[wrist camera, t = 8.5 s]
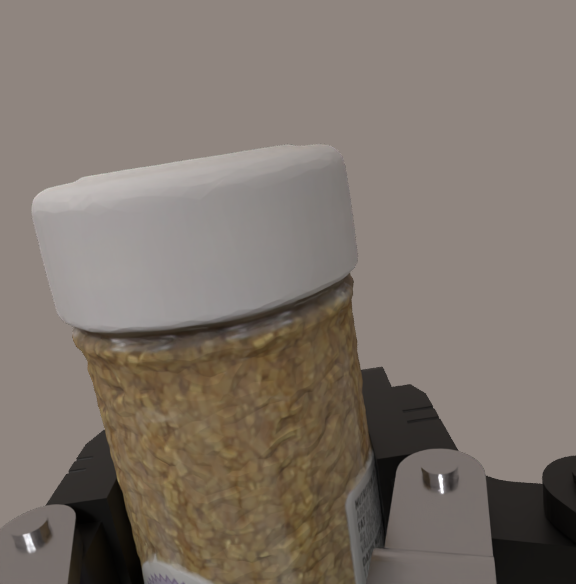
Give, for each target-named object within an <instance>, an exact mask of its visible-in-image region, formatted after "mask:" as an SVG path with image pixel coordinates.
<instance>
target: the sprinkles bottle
mask: <svg viewBox="0 0 576 584" xmlns="http://www.w3.org/2000/svg"><path fill="white" fill-rule="evenodd" d="M32 218H33V223H34V227H35V231H36V235H37V239H38V243H39V247H40V251H41V255H42V260H43V264H44V268H45V272H46V275H47V279H48V282H49V286H50V289H51V293H52V297H53V300H54V303H55V307H56V310H57V314H58V315H59V317H60V318H61V320H62V321H64V322H65V323H66V324H69V325H71V326H73V335H72V338H73V341H74V343H75V345H76V347H77V348H79V349H80V350H81V351H82V353H83V354H84V356H85V357H86V359H87V361H88V372H89V374H90V377H91V379H92V382H93V385H94V390H95V393H96V396H97V402H98V407H99V409H100V413H101V417H102V421H103V424H104V428H105V432H106V437H107V441H108V444H109V446H110V453H111V457H112V460H113V462H114V466H115V471H116V475H117V479H118V482H119V485H120V487H121V490H122V492H123V496H124V501H125V506H126V510H127V514H128V517H129V520H130V523H131V526H132V533H133V538H134V541H135V544H136V549H137V554H138V556H139V558H140V561H141V567H142V575H143V579H144V584H366V583H367V577H368V572H369V566H370V561H371V556H372V553H373V550H374V548H375V547H381V548H384V547H385V536H384V528H383V521H382V513H381V506H380V498H379V491H378V483H377V475H376V468H375V460H374V453H373V449H372V444H371V440H370V436H369V433H368V425H367V419H366V409H365V405H364V399H363V394H362V385H363V380H362V374H361V369H360V363H359V359H358V353H357V338H356V332H355V327H354V318H353V313H352V302H351V299H352V296H353V283H354V281H353V278H352V277H351V275H350V272H351V271H352V270H353V269H354V268H355V266H356V264H357V261H358V253H357V245H356V237H355V229H354V220H353V214H352V205H351V199H350V192H349V187H348V180H347V173H346V167H345V164H344V160H343V157H342V155H341V154H340V152H339V151H338V150H337V149H336V148H334V147H333V146H330V145H325V144H314V145H304V146H295V145H291V144H287V145H279V146H273V147H266V148H260V149H253V150H247V151H241V152H235V153H229V154H223V155H217V156H210V157H204V158H197V159H192V160H185V161H179V162H172V163H167V164H160V165H154V166H148V167H142V168H134V169H128V170H122V171H116V172H111V173H105V174H98V175H92V176H87V177H82V178H80V179H79V180H77V181H75V182H72V183H68V184H64V185H59V186H55V187H51V188H47V189H45V190H44V191H42V192H40V193H39V194H38V195H37V196H36V197H35V198H34V200H33V203H32Z"/></svg>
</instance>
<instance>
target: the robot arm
mask: <svg viewBox="0 0 576 584" xmlns="http://www.w3.org/2000/svg"><path fill="white" fill-rule="evenodd" d="M361 374H362V380H363V385H362V394H363V399H364V405H365V409H366V419H367V425H368V433H369V436H370V440H371V444H372V449H373V453H374V460H375V468H376V475H377V483H378V491H379V498H380V506H381V513H382V521H383V528H384V536H385V547H384V548H381V547H375V548H374V550H373V553H372V556H371V561H370V566H369V572H368V577H367V583H366V584H576V456H569V457H564V458H561V459H558V460H555V461H553V462H552V463H551V464H549V465H548V466H547V467H546V468H545V470H544V472H543V476H542V480H543V484H536V483H521V482H510V481H503V480H498V479H494V478H491V477H488V476H486V475H485V471H484V468H483V467H482V465H481V464H480V463H479V462H478V461H477V460H476V459H475V458H473V457H471V456H470V455H468V454H465V453H463V452H460V451H458V449H457V448H456V446H455V444H454V442H453V440H452V439H451V437H450V435H449V433H448V432H447V430H446V428H445V426H444V425H443V423H442V421H441V419H439V416H438V414H437V412H436V411H435V409H434V408H433V405H432V404H431V402H430V400H429V398H428V397H427V395H426V393H424V392H422V391H421V390H419V389H417V388H416V387H414V386H412V385H410V384H409V385H403V386H396V387H391V384H390V382H389V380H388V378H387V375H386V373H385V371H384V369H383V367H377V368H370V369H364V370H361ZM0 584H144V579H143V575H142V567H141V561H140V558H139V556H138V554H137V549H136V544H135V541H134V538H133V533H132V526H131V523H130V520H129V517H128V514H127V510H126V506H125V501H124V496H123V492H122V490H121V487H120V485H119V482H118V479H117V475H116V471H115V466H114V462H113V460H112V457H111V453H110V446H109V444H108V441H107V437H106V432H105V430H103V431H102V432H101V433H99V434H98V435H97V436H96V437H94V438H93V439H92V440H91V441H89V442H88V443H87V444H86V445H85V447H84V448H83V450H82V451H81V453H80V454H79V456H78V457H77V461H75V462H74V463H73V465H72V466H71V468H70V469H69V474H66V475H65V477H64V478H63V480H62V481H61V483H60V485H59V486H58V487H57V489H56V490H55V492H54V493H53V495H52V497H51V498H50V500H49V501H48V503H47V504H46V506H43V507H39V508H36V509H33V510H30V511H28V512H26V513H23V514H21V515H20V516H18V517H16V518H14V519H13V520H11V521H10V522H8V523H7V524H5V525H4V526H3V527H2V528H1V529H0Z"/></svg>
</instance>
